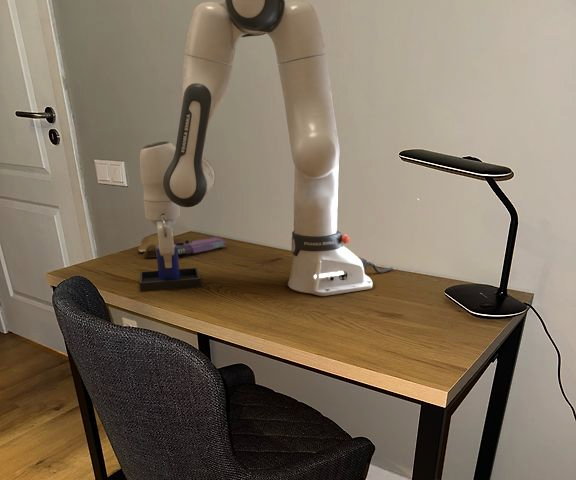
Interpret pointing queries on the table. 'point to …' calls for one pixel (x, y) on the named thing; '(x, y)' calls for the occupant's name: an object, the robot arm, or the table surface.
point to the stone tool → (149, 245)
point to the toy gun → (199, 245)
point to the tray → (186, 280)
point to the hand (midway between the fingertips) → (168, 263)
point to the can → (168, 272)
